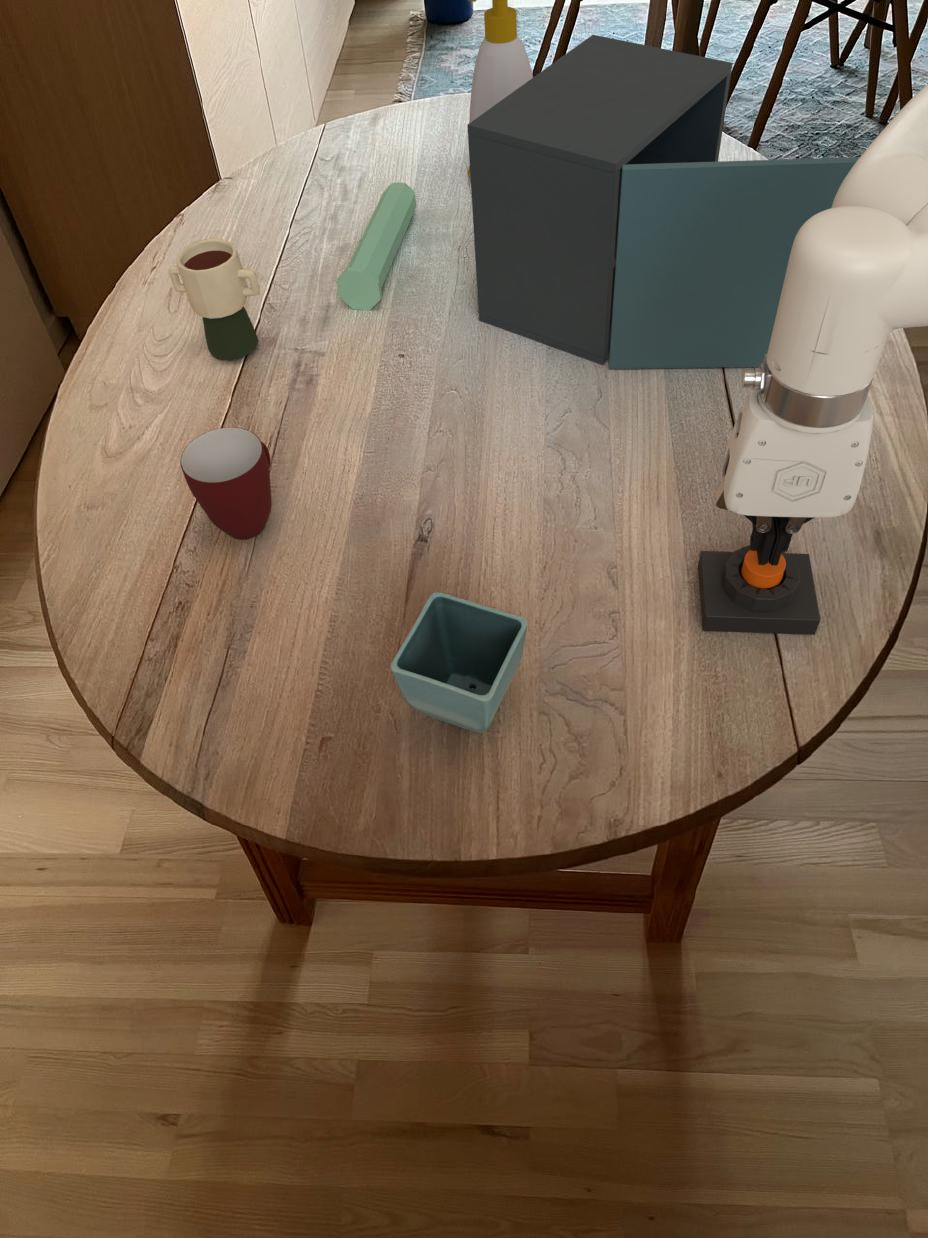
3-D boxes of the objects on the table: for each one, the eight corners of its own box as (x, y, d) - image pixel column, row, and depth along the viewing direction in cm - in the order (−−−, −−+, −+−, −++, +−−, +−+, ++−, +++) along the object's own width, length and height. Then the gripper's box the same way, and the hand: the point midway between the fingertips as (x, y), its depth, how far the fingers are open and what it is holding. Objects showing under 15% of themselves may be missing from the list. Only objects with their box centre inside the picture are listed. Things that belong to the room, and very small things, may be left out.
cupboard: (703, 259, 124) (732, 62, 105) (603, 365, 112) (615, 163, 93) (585, 224, 131) (592, 34, 112) (478, 320, 119) (467, 124, 100)
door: (848, 404, 104) (914, 197, 86) (610, 407, 107) (625, 205, 88) (835, 360, 109) (895, 155, 91) (608, 363, 112) (622, 164, 93)
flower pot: (531, 679, 85) (530, 617, 78) (493, 760, 80) (489, 702, 73) (442, 651, 87) (433, 589, 80) (400, 727, 82) (387, 668, 75)
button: (779, 559, 87) (783, 546, 85) (784, 589, 84) (788, 576, 83) (739, 558, 87) (742, 545, 86) (742, 588, 85) (746, 575, 83)
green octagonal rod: (388, 166, 132) (341, 261, 117) (427, 183, 133) (386, 280, 118) (377, 203, 137) (331, 300, 122) (416, 219, 138) (374, 317, 123)
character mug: (284, 335, 120) (260, 239, 109) (267, 370, 115) (240, 273, 105) (204, 330, 121) (173, 235, 111) (184, 364, 117) (150, 269, 107)
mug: (233, 479, 103) (208, 407, 96) (302, 487, 102) (282, 414, 94) (196, 549, 97) (166, 478, 89) (269, 559, 96) (245, 487, 88)
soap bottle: (451, 180, 141) (435, -21, 121) (499, 149, 146) (492, -49, 126) (510, 202, 136) (504, -5, 116) (558, 168, 141) (560, -35, 121)
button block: (804, 568, 90) (813, 540, 87) (815, 635, 86) (825, 607, 82) (697, 565, 92) (703, 537, 88) (702, 631, 87) (708, 603, 84)
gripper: (713, 416, 68) (682, 583, 82) (931, 420, 66) (860, 588, 80) (706, 352, 72) (678, 520, 87) (910, 354, 71) (846, 525, 85)
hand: (766, 553), depth 83 cm, fingers closed
